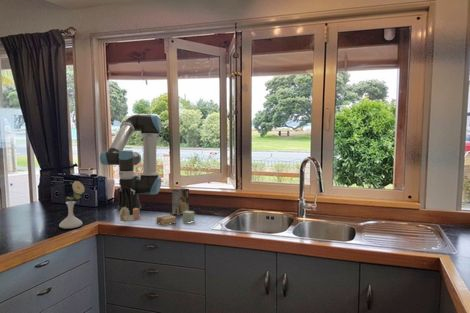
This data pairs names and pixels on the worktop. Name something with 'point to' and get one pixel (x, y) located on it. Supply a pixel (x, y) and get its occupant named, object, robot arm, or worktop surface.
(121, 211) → the maple block
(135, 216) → the terracotta block
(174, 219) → the oak base
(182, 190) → the coffee box
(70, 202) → the flower in vase
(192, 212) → the sage block
